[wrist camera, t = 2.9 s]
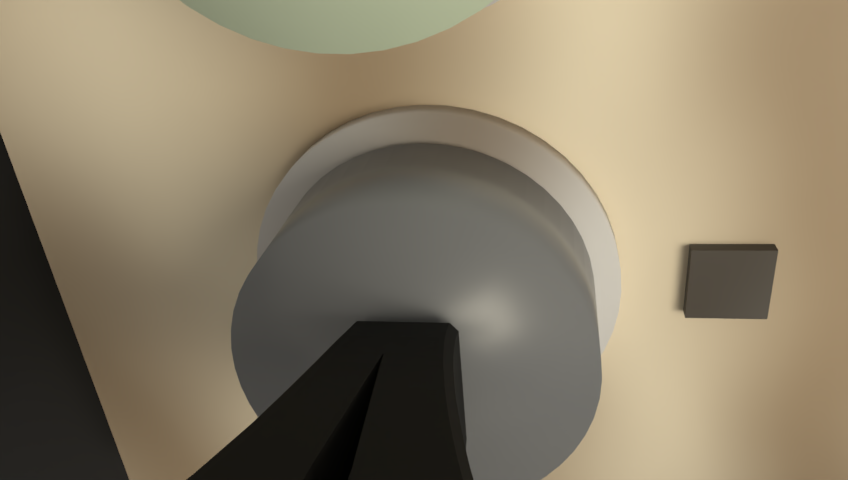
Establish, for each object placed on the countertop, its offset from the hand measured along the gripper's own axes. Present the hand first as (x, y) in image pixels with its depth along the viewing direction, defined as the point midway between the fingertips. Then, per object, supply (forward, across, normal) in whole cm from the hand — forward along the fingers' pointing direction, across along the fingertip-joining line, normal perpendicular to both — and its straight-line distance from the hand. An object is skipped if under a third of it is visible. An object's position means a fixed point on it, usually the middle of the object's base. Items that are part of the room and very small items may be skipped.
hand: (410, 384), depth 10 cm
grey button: (+2, 0, 0) cm, 2 cm away
